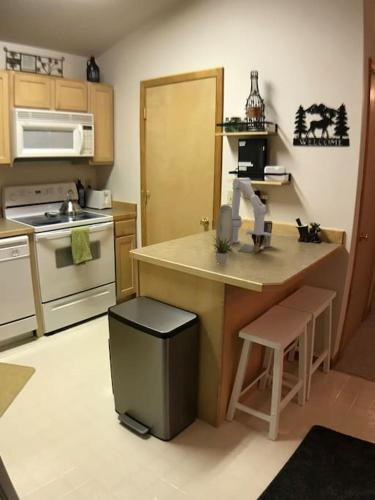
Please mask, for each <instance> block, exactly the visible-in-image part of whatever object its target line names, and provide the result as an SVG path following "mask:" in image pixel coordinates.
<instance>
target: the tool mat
mask: <svg viewBox="0 0 375 500" xmlns="http://www.w3.org/2000/svg"><path fill="white" fill-rule="evenodd" d="M253 246H254V244H248V243H245V244H244V245H242V247H240V248H238V250H237V252H239V253H240V252H241V253H242V252H243V253H249V254H250V253H252V252H253Z"/></svg>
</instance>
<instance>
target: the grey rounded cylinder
mask: <svg viewBox="0 0 375 500" xmlns="http://www.w3.org/2000/svg"><path fill="white" fill-rule="evenodd" d="M218 210H219V212H218V217H217V221H216V230H215V231H216V232H215V233H216V235H215V239H216V240H217V241H218V242H219V240H218V238H217V236H219V238H220V241H223V243H224V241H225V238H226V242H227V241H229V240H230V239H231V238H232V239H231V240H230V241H229V242H228V243H227V245H230V246H231V247H232V246H233V243H232V241H233V218H232V209H231V206H230V205H229V204H221V206H220V207H219V209H218ZM222 239H224V240H222ZM216 240H215V242H216V243H217V241H216ZM226 242H225V243H226ZM216 243H215V244H216ZM216 245H218V243H217V244H216ZM230 246H228V247H229V249H231V247H230ZM218 247H219V245H218ZM228 247H227V248H228ZM219 248H220V247H219Z"/></svg>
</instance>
